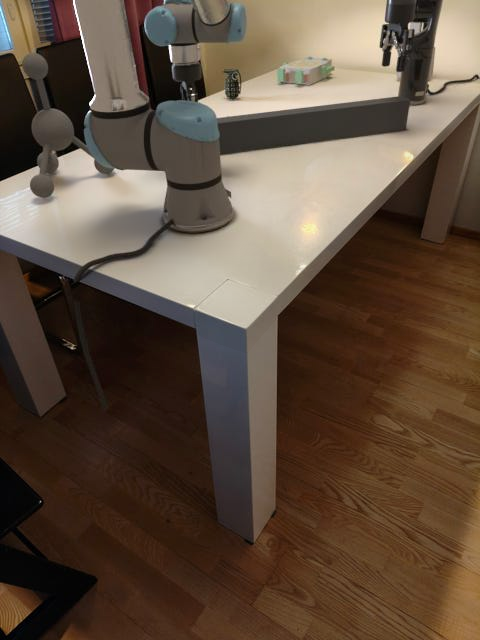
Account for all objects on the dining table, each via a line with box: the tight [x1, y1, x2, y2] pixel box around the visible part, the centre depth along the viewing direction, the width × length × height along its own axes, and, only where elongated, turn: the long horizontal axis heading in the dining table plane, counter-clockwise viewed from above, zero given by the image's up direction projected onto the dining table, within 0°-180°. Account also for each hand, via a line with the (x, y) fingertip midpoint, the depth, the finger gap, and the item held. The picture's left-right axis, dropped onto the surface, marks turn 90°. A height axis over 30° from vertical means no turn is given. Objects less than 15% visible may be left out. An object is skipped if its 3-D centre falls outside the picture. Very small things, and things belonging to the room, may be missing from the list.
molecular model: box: [21, 52, 116, 199], centre depth 119 cm, size 24×22×30 cm
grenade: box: [221, 68, 242, 100], centre depth 184 cm, size 7×6×10 cm
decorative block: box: [276, 56, 336, 86], centre depth 205 cm, size 26×6×20 cm
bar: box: [217, 95, 411, 156], centre depth 142 cm, size 70×5×9 cm, turn 104°
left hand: (195, 152), depth 139 cm, fingers closed on bar, 5 cm apart
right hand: (392, 68), depth 139 cm, fingers open, 8 cm apart
